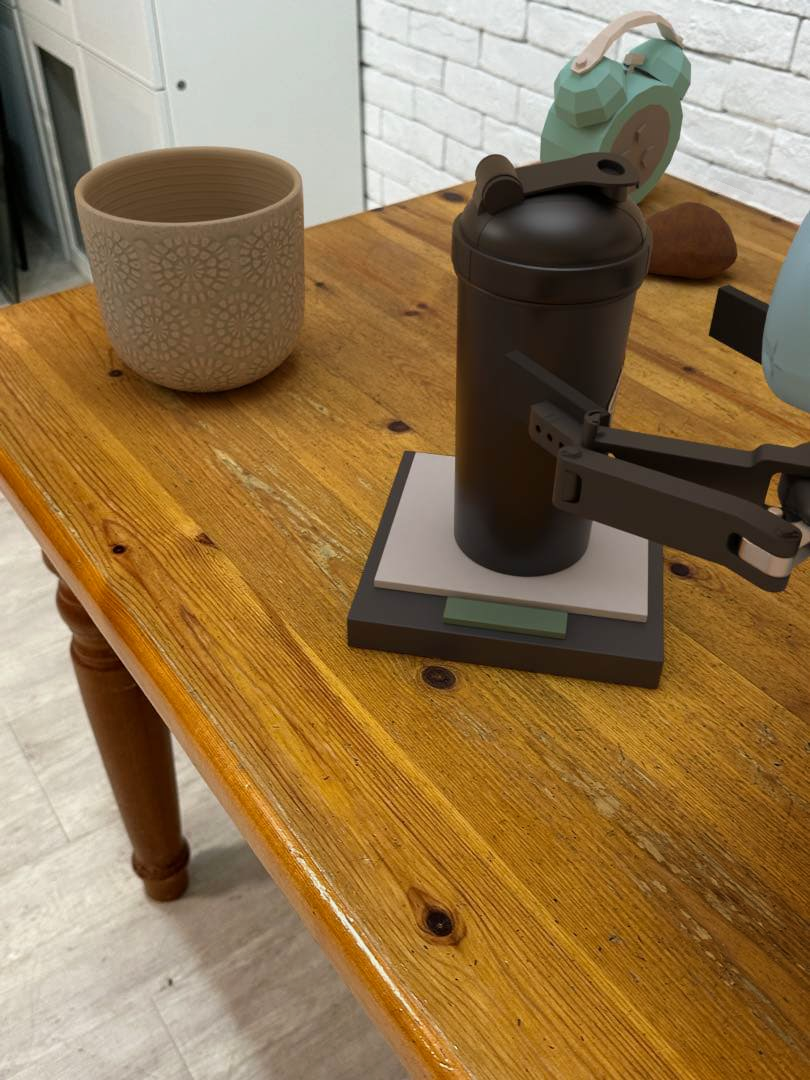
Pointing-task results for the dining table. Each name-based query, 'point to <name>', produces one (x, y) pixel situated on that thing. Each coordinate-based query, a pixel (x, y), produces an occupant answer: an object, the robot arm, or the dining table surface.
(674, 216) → the potato
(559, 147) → the alarm clock
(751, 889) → the dining table surface
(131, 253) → the planter
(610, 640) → the scale
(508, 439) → the water bottle
